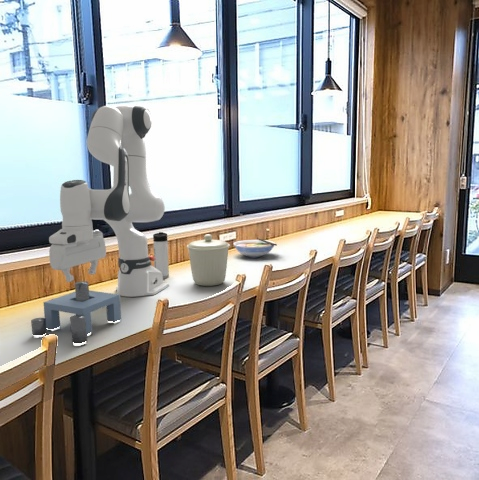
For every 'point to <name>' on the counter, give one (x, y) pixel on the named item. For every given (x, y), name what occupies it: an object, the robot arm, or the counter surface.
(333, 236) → the counter surface
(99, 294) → the grey legged square frame
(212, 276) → the canister
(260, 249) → the ramen bowl
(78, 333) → the medium steel pin
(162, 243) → the travel mug
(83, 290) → the tall steel pin
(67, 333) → the counter surface
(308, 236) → the counter surface
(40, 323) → the short steel pin
